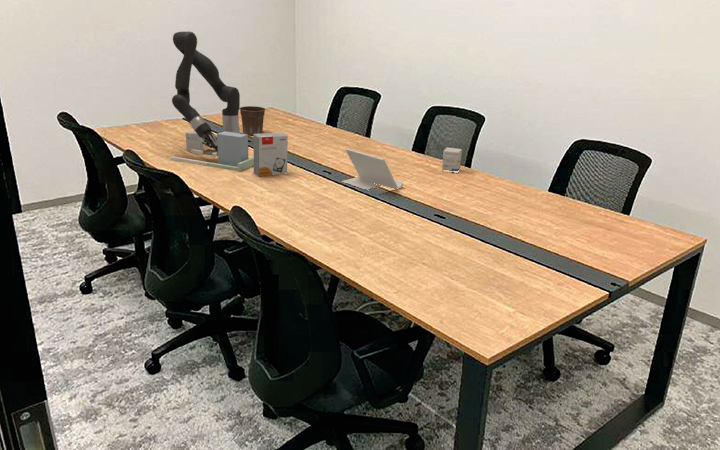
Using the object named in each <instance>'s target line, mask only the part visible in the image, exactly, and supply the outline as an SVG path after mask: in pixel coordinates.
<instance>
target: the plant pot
mask: <svg viewBox="0 0 720 450" xmlns="http://www.w3.org/2000/svg"><path fill="white" fill-rule="evenodd" d="M239 111H240V115H241V116H240V117H241V123H242V124H241V126H242V134H247V135H248V136H253V134H262V133H263V129H264V119H265V118H264V117H265V112H266V108H265V107H262V106H255V105H253V106H252V105H251V106H250V105H248V106H240V108H239Z"/></svg>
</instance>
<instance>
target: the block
mask: <svg viewBox="0 0 720 450" xmlns="http://www.w3.org/2000/svg"><path fill="white" fill-rule="evenodd" d="M216 136H217V145H218V156H217V159H218V160H217V162H218V163H217V164H222V165H228V166H234V167H238V166H237V164H238V163H240V162H243V161H245V160H247V159H249V158H250V157H249V135H247V134H243V133H241V132H240V133H233V132H226V131H224V132H223V131H222V132H218V133H217V134H216Z"/></svg>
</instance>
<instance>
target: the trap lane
mask: <svg viewBox="0 0 720 450" xmlns="http://www.w3.org/2000/svg"><path fill="white" fill-rule="evenodd" d="M190 153H193V154H199V155H208V156H209V155H210V156H212V157H218V152H217V151H216V150H215V149H214V148H206V149H204V150H202V151H200V150H194V149H192V150H191V151H190ZM248 158H249V159H247V160H245V161H243V162H240V163H238V164H237V166H238V167H234V166H228V165H222V164H218V163H215V162H209V161H203V160H197V159H191V158H184V157H180V156H172V155H171V156H170V158H169V159H170V160H171V161H177V162H182V163H187V164H189V163H190V164H195V165H200V166H207V167H212V168H219V169H224V170H230V171H231V170H232V171H237V172H239V173H240V172H243V171H245V170H248V169H250V168H252V167H254V156H252V157H248Z"/></svg>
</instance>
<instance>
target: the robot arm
mask: <svg viewBox="0 0 720 450" xmlns="http://www.w3.org/2000/svg"><path fill="white" fill-rule="evenodd" d="M172 43H173V44H174V46H175V48H176V49H177V51H179V52H180V53H181V54H182V55H183V58H182V59H181V62H180V64H179V66H178V68H177V71H176V75H175V81H174V82H175V85H174V88H175V90H176V91H177V93H176V94H175V95H173V97H172V99H171V102H172V105H173V107H174V108H175V109H176V110H177V111H178V113H180V114H181V115H182V116H183V117H184V118H185V120H186V121H187V123H188V124H189V125H190V126H191V128H192V129H193V131H195V132H196V133H197V134H198V136H199V137H200V138H202V139H203V142H202V143H203V146H206V147H208V148H209V149H214V150H216V151H217V152H218V145H217V135H215V134H214V132H213V131H212V128H211V126H210V124H208V123H207V121H206V120H205V119H204V118H203V117H202V115H200V113H199V112H198V111H197V110H196V109H195V108H194V107H192V106H191V105H190V104H191V103H190V101H191V97H190V81H191V79H190V78H191V71H192V66H193V67H194V68H195V70H197V72H199V74H200V75H201V77H203V78H204V80H205V81H206V82H207V83H208V85H209V86H210V87H211V88H212V89H213V91H214V92H215V94H216V95H217V97H218V99H220V101H221V102H223V103H226V108H223V109H222V110H221V115H222V117H221V118H222V132H224V131H226V132H233V133H240V134H241V132H240V131H241V129H240V121H239V111H240V109H239V108H241V106H240V104H241V101H240V99H241V97H240V91H239V89H238V88H237V87H234V86H228V85H227V84H225V83H224V82H223V81H222V80H221V77H220V72H219V69H218V67H217V66H216V64H215V63H214V62H213V61H212V59H210V58H209V57H207V56H206V55H205V54H203V53H202V52H200V51H199V50H197V47H198V38H197V35H196V34H195V33H194V32H193V31H177V32H175V33H174V34H173V35H172Z"/></svg>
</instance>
